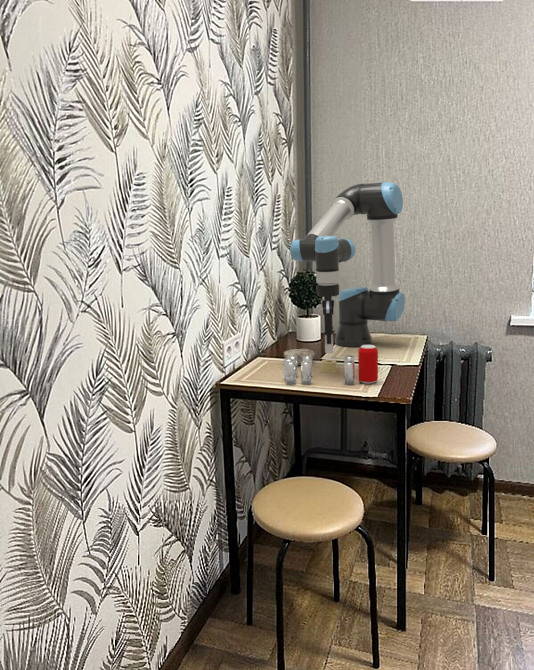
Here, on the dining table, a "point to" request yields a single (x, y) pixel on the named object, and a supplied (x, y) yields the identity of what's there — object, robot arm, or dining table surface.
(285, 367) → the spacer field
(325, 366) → the nut
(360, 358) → the beverage can
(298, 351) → the rock
